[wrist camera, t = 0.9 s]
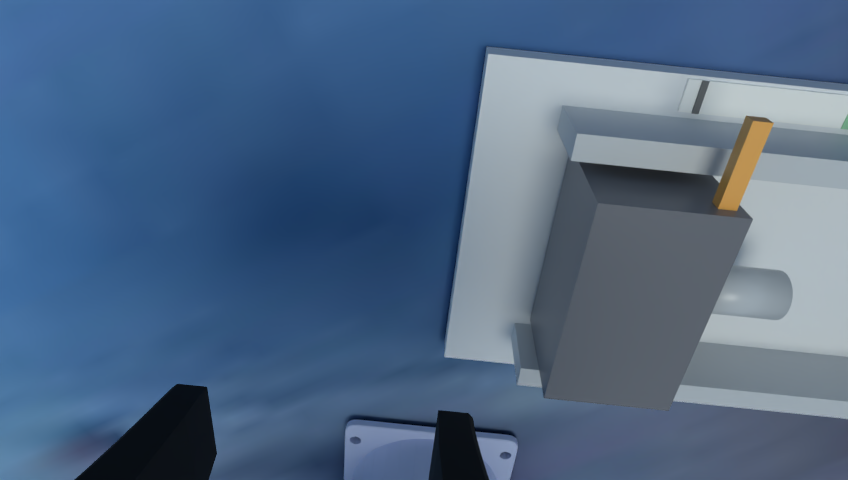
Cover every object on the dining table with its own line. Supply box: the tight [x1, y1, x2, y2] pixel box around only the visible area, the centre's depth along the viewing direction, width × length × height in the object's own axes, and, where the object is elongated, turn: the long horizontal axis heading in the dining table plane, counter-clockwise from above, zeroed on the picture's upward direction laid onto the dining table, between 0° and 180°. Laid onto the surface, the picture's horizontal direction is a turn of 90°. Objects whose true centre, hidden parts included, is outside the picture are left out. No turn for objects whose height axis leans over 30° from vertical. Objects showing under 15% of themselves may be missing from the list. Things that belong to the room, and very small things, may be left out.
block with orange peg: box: [530, 116, 793, 411], centre depth 17 cm, size 9×7×4 cm
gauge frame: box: [444, 47, 848, 419], centre depth 18 cm, size 12×22×6 cm, turn 85°
